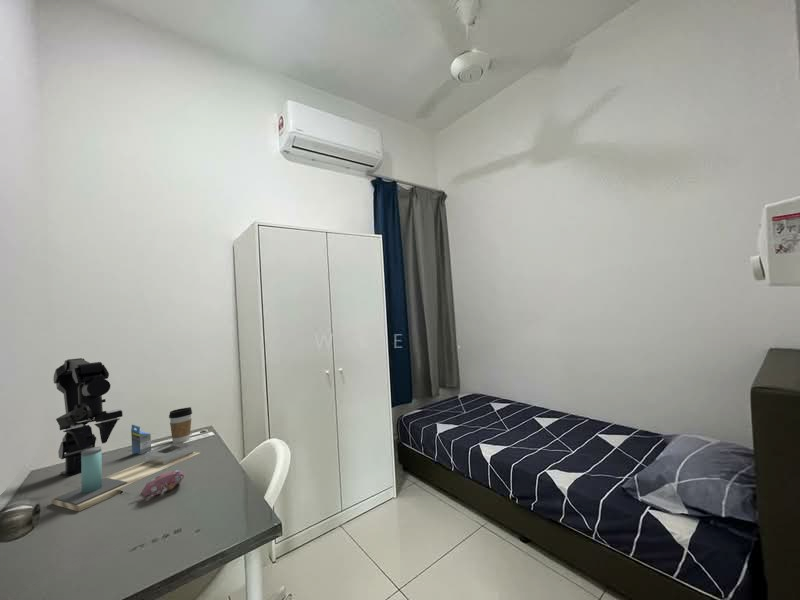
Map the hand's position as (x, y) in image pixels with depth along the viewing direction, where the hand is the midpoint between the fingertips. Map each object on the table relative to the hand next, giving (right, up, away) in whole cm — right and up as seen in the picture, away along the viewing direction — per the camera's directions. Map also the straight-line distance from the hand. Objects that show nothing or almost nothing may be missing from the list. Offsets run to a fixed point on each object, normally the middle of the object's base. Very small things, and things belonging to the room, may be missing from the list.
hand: (92, 445), depth 104 cm
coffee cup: (+8, -14, +30) cm, 34 cm away
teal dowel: (+10, -9, -10) cm, 16 cm away
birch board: (+14, -11, +1) cm, 18 cm away
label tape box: (-1, -14, +21) cm, 25 cm away
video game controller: (+32, -9, -11) cm, 35 cm away
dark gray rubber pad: (+10, -9, -10) cm, 17 cm away
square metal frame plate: (+17, -10, +12) cm, 23 cm away
